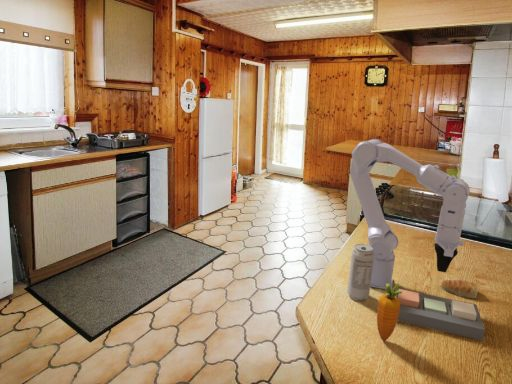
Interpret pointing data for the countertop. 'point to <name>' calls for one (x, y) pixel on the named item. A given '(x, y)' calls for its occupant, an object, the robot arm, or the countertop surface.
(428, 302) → the sage button
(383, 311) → the carrot
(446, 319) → the panel
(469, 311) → the cream button
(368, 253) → the energy drink can
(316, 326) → the countertop surface
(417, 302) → the terracotta button
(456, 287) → the pastry
